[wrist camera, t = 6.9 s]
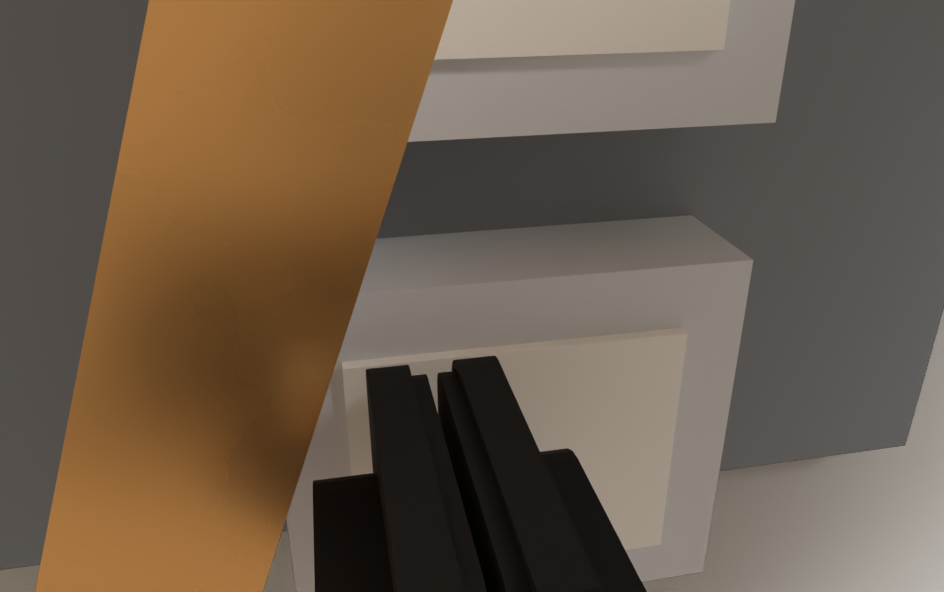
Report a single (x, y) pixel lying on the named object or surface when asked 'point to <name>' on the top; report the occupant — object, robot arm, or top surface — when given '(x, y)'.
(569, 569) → the robot arm
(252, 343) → the orange crank handle
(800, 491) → the top surface
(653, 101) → the sled board
